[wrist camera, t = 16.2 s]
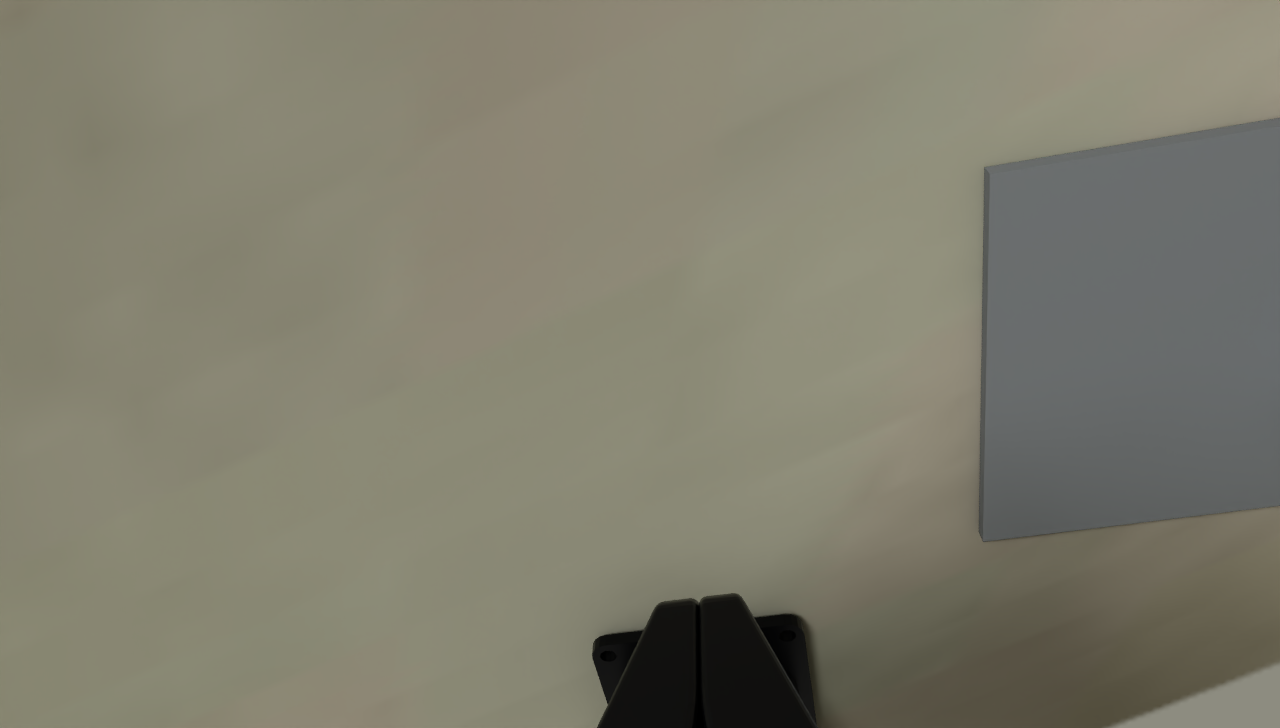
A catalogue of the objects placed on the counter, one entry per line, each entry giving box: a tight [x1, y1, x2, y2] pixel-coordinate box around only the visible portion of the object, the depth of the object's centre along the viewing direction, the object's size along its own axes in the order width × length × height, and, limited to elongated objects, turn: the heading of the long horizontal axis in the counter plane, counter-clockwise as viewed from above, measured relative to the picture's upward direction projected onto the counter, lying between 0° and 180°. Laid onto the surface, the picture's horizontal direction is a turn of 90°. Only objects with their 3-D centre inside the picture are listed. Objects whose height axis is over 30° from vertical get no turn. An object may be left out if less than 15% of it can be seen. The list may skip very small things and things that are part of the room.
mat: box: [979, 118, 1280, 542], centre depth 22 cm, size 11×13×1 cm
